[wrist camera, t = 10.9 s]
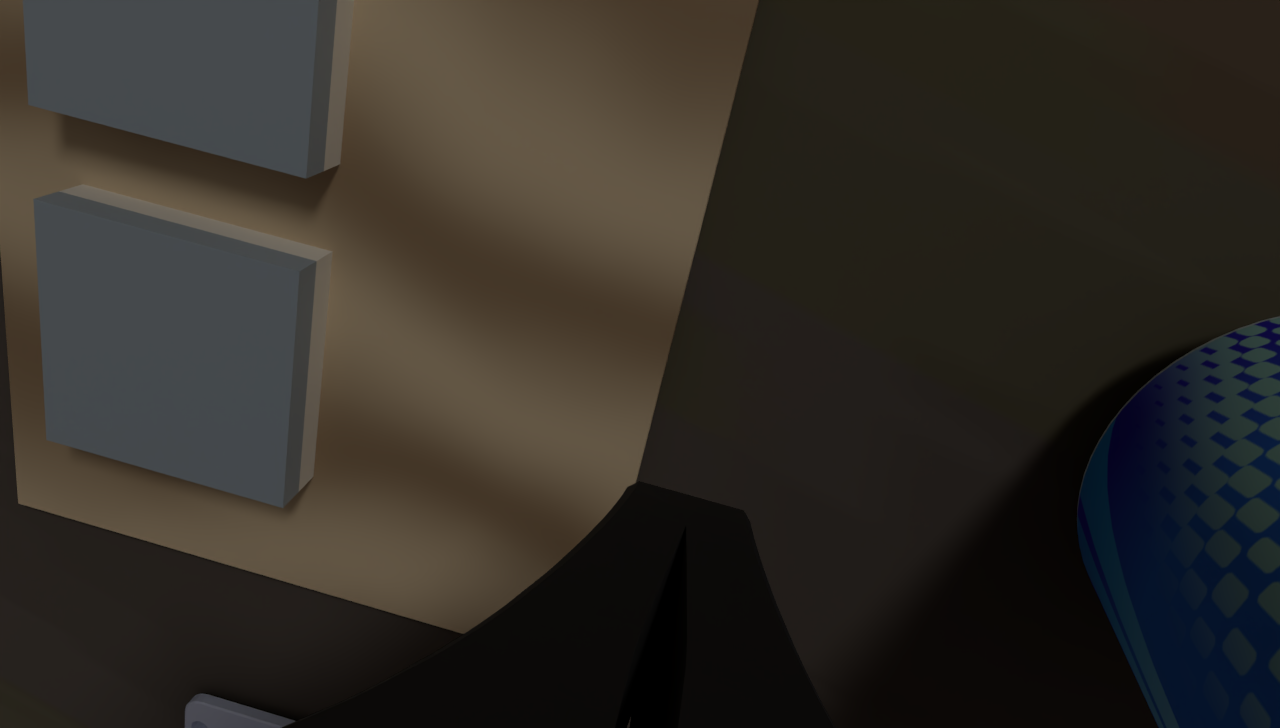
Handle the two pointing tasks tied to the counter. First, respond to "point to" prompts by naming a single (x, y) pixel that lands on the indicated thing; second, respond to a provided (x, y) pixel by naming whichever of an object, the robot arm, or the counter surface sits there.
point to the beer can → (1195, 533)
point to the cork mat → (427, 290)
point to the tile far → (181, 342)
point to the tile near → (200, 73)
